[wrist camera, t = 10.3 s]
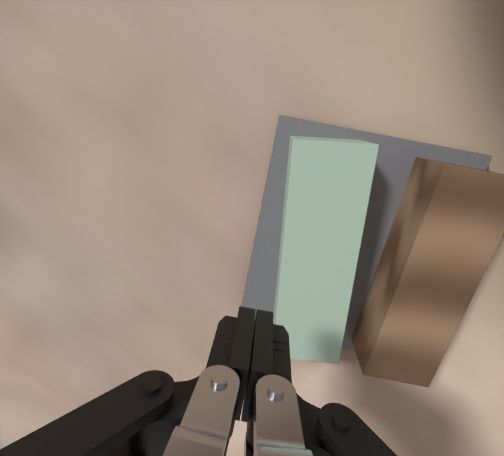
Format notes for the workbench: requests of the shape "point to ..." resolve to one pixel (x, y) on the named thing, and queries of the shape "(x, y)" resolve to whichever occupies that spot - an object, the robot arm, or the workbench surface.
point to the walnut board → (429, 269)
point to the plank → (321, 241)
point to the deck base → (377, 217)
